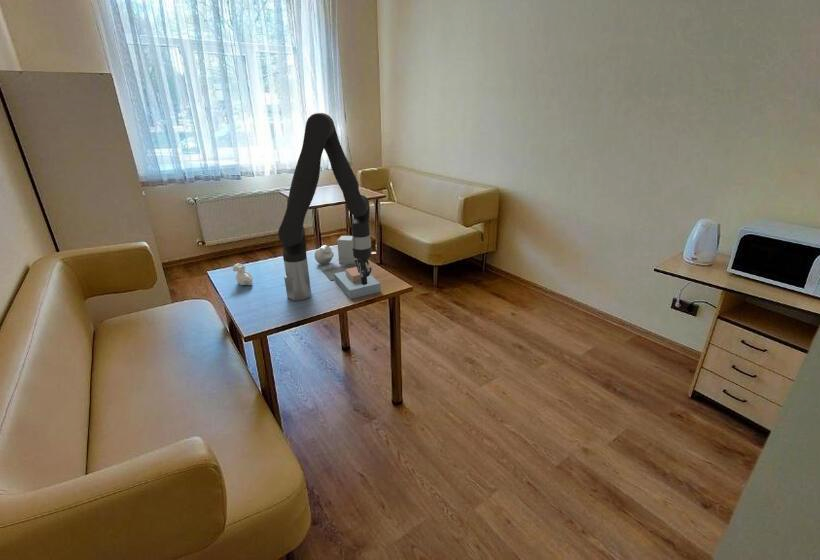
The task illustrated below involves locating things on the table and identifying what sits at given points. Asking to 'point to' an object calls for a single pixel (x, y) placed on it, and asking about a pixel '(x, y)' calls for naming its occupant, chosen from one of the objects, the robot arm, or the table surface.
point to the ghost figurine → (324, 255)
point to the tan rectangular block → (353, 274)
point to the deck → (356, 285)
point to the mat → (336, 270)
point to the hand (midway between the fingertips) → (364, 284)
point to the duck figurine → (242, 275)
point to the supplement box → (345, 250)
